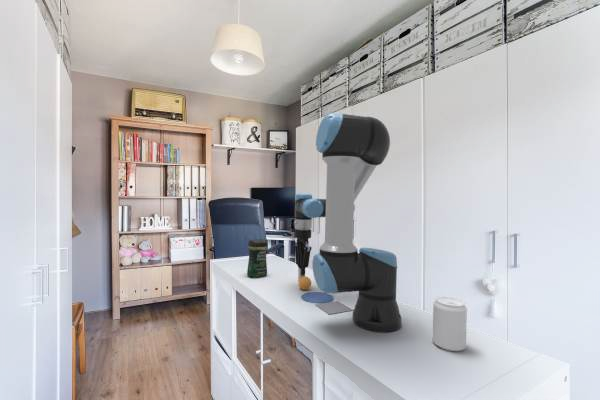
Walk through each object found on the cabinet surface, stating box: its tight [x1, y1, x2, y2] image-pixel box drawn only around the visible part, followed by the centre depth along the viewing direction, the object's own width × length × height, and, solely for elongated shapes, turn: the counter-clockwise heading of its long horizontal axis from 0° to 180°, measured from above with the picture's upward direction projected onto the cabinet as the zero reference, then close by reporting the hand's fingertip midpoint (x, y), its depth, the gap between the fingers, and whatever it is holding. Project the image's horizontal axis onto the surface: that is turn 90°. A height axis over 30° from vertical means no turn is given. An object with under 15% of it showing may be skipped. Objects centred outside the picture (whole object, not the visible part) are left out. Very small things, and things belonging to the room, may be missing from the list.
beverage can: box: [432, 296, 468, 352], centre depth 80 cm, size 8×8×12 cm
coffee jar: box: [246, 238, 269, 279], centre depth 148 cm, size 10×8×19 cm
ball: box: [298, 276, 312, 291], centre depth 128 cm, size 6×6×6 cm
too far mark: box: [314, 300, 354, 316], centre depth 107 cm, size 10×10×1 cm
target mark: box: [300, 291, 335, 304], centre depth 118 cm, size 13×13×1 cm
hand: (301, 282), depth 131 cm, fingers closed
